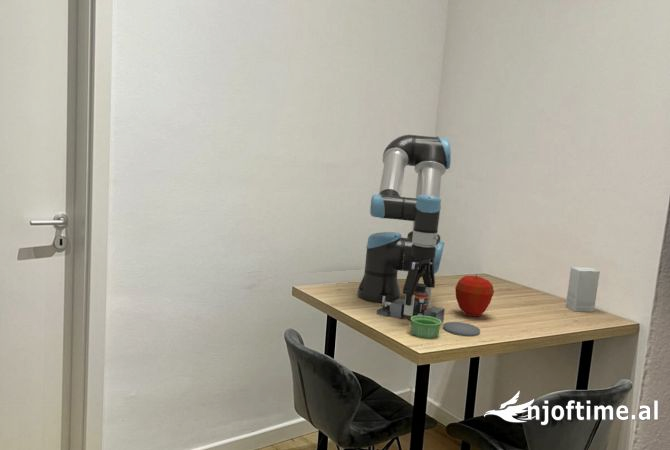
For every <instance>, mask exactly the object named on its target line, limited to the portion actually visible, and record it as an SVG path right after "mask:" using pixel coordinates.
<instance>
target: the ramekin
mask: <svg viewBox="0 0 670 450" xmlns="http://www.w3.org/2000/svg"><path fill="white" fill-rule="evenodd" d="M441 325H442V323H441V320H439V319H437V318H434V317H430V316H423V315H417V316H412V317H411V320H410V333H411V334H412V335H413V336H415V337H419V338H422V339H423V338H424V339H434V338H438V337H439V333H440V329H441Z"/></svg>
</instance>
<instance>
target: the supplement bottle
mask: <svg viewBox="0 0 670 450" xmlns="http://www.w3.org/2000/svg"><path fill="white" fill-rule="evenodd" d="M413 295H415V298H414V308H413V316H417V315H423V316H424V310H426V309H428V307H427V301H428V293H427V292H426V285H424V283H419V282H418V284H417V287H416V289H415V292H414V294H413ZM411 317H412V316H408V315H407V316H406V318H407V320H409V321H411Z"/></svg>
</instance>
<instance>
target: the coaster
mask: <svg viewBox="0 0 670 450" xmlns="http://www.w3.org/2000/svg"><path fill="white" fill-rule="evenodd" d="M442 325H443V326H442V329H443V330H444V331H445V332H447V333H450V334H451V335H457V336H461V337H475V336H479V335H480V333H481V329H480V328H479V327H478V326H476V325H473V324H470V323H467V322H460V321H447V322H445V323H443V324H442Z"/></svg>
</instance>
